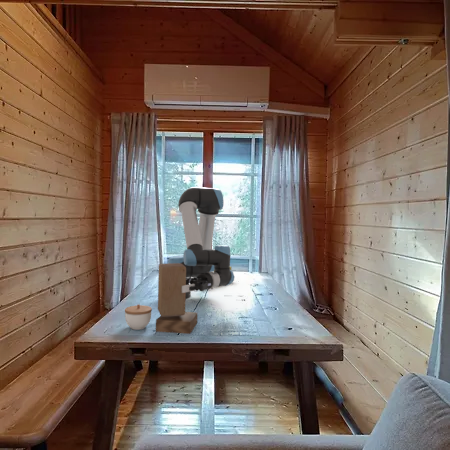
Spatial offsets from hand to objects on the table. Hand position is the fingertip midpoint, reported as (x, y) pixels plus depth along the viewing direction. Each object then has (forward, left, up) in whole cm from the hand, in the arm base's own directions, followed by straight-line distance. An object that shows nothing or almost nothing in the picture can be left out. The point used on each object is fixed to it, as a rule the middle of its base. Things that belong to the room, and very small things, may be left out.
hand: (171, 286), depth 140 cm
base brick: (+2, +3, -18) cm, 18 cm away
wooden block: (0, 0, -11) cm, 11 cm away
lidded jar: (-13, -2, -17) cm, 22 cm away
